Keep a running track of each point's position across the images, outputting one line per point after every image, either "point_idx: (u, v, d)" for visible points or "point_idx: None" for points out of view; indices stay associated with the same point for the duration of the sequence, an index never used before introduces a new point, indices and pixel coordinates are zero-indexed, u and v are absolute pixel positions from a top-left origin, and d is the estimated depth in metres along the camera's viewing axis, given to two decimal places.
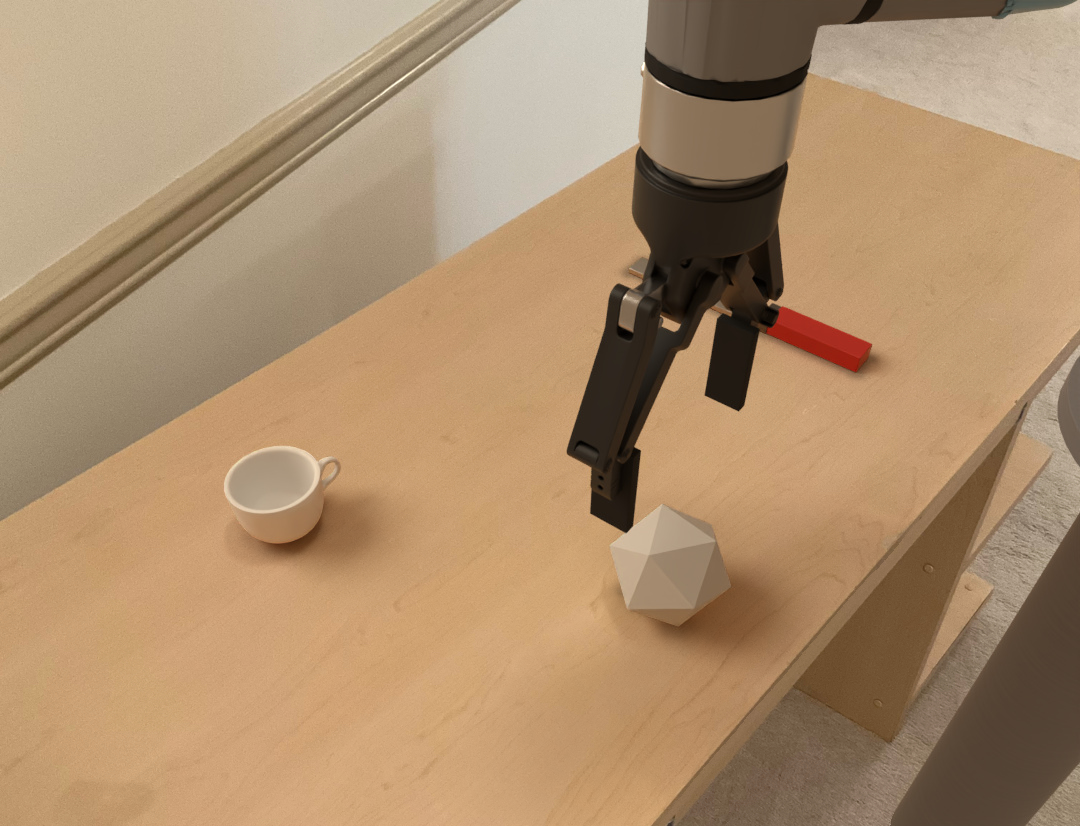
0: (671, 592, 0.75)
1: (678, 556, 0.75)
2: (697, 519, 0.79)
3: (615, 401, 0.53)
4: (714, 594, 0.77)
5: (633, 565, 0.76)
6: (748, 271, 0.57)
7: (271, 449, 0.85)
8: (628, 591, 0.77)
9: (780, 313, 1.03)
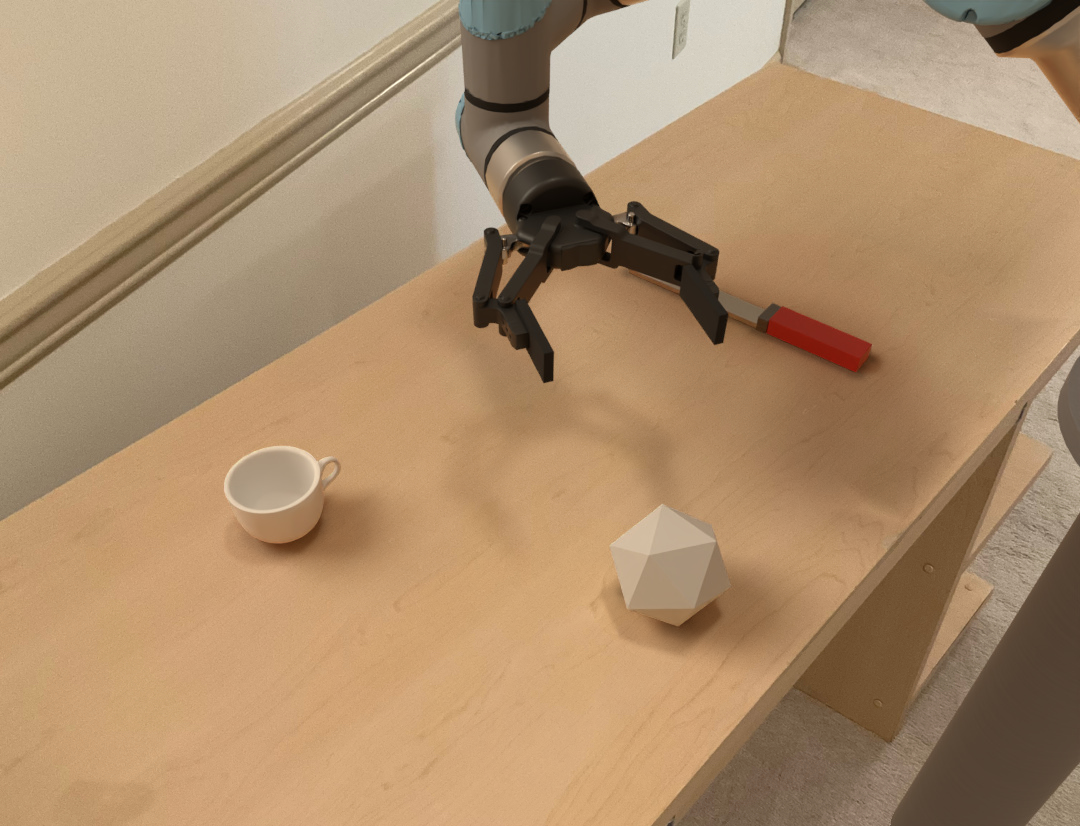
0: (671, 592, 0.75)
1: (678, 556, 0.75)
2: (697, 519, 0.79)
3: None
4: (714, 594, 0.77)
5: (633, 565, 0.76)
6: (609, 223, 0.81)
7: (271, 449, 0.85)
8: (628, 591, 0.77)
9: (780, 313, 1.03)
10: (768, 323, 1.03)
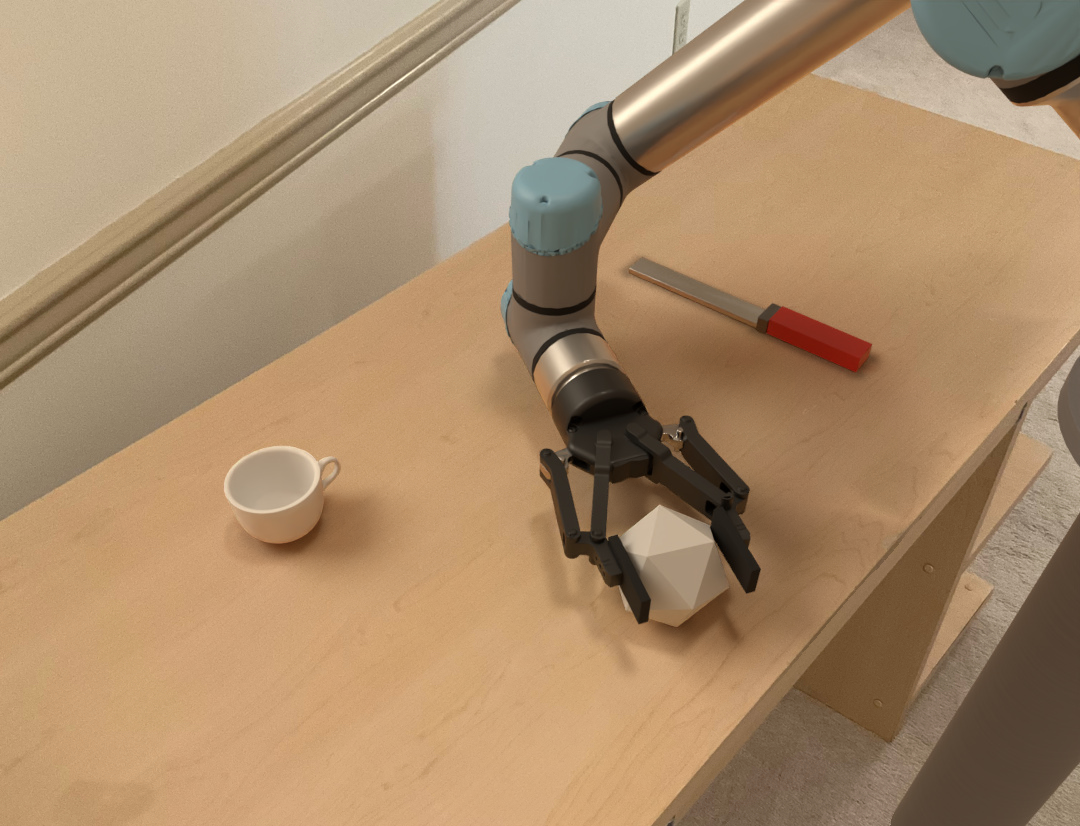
0: (670, 593, 0.75)
1: (676, 557, 0.75)
2: (694, 519, 0.79)
3: (557, 503, 0.79)
4: (713, 594, 0.77)
5: None
6: (656, 442, 0.82)
7: (271, 449, 0.85)
8: None
9: (780, 313, 1.03)
10: (768, 323, 1.03)
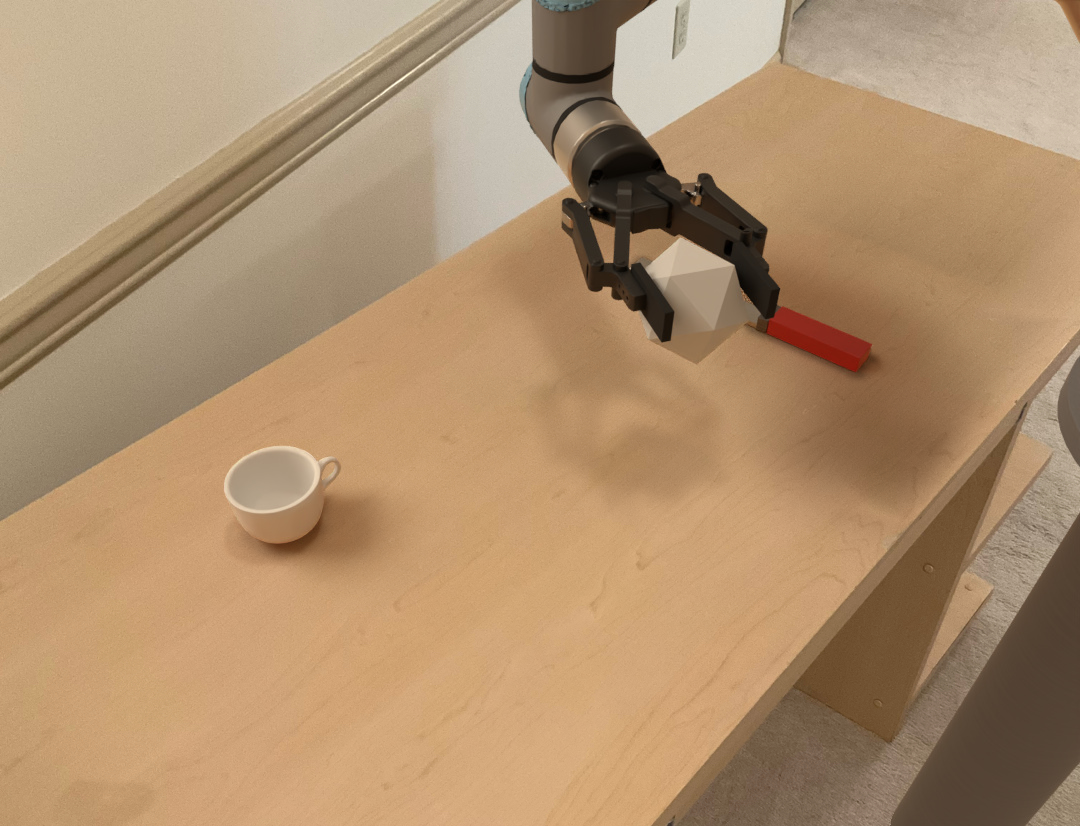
0: (691, 314, 0.77)
1: (697, 279, 0.77)
2: None
3: (580, 242, 0.81)
4: (732, 322, 0.79)
5: None
6: (675, 191, 0.84)
7: (271, 449, 0.85)
8: None
9: (780, 313, 1.03)
10: (768, 323, 1.03)
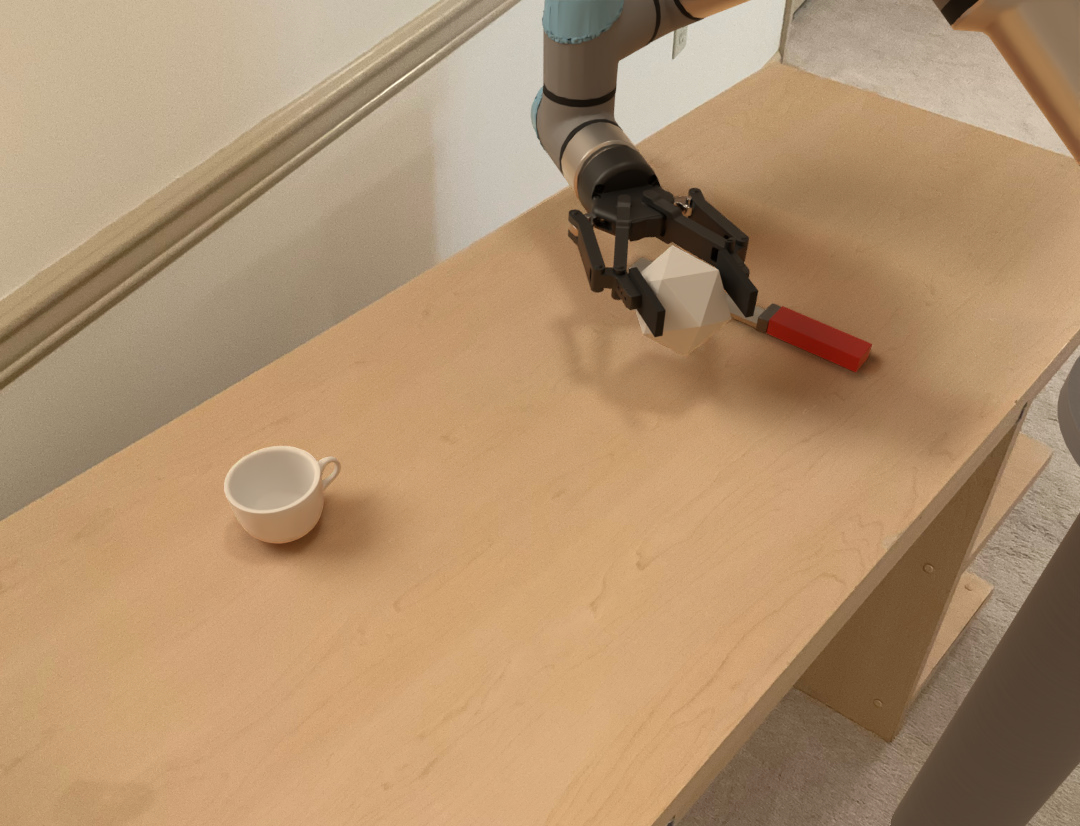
0: (681, 313, 0.89)
1: (686, 282, 0.88)
2: None
3: (584, 248, 0.93)
4: (717, 320, 0.90)
5: None
6: (668, 204, 0.96)
7: (271, 449, 0.85)
8: None
9: (780, 313, 1.03)
10: (768, 323, 1.03)
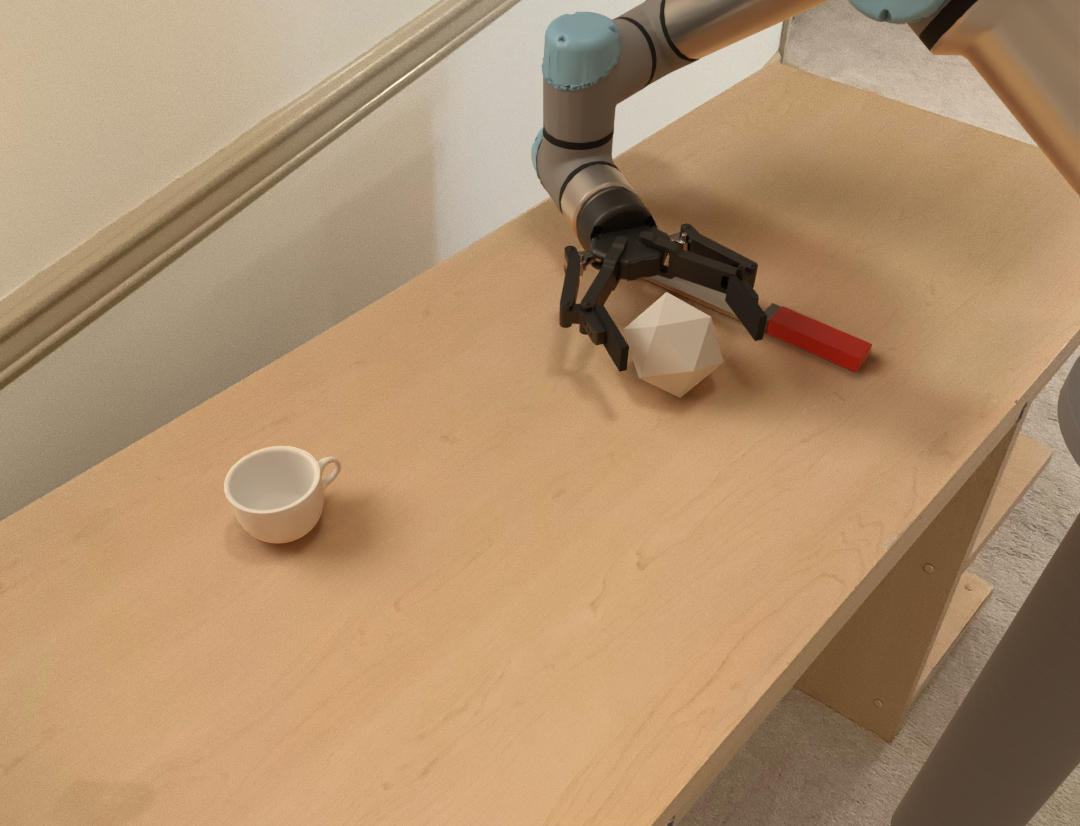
0: (675, 358, 0.92)
1: (680, 328, 0.92)
2: None
3: None
4: (710, 364, 0.94)
5: (643, 339, 0.93)
6: (667, 241, 1.00)
7: (271, 449, 0.85)
8: (639, 362, 0.94)
9: (780, 313, 1.03)
10: (768, 323, 1.03)
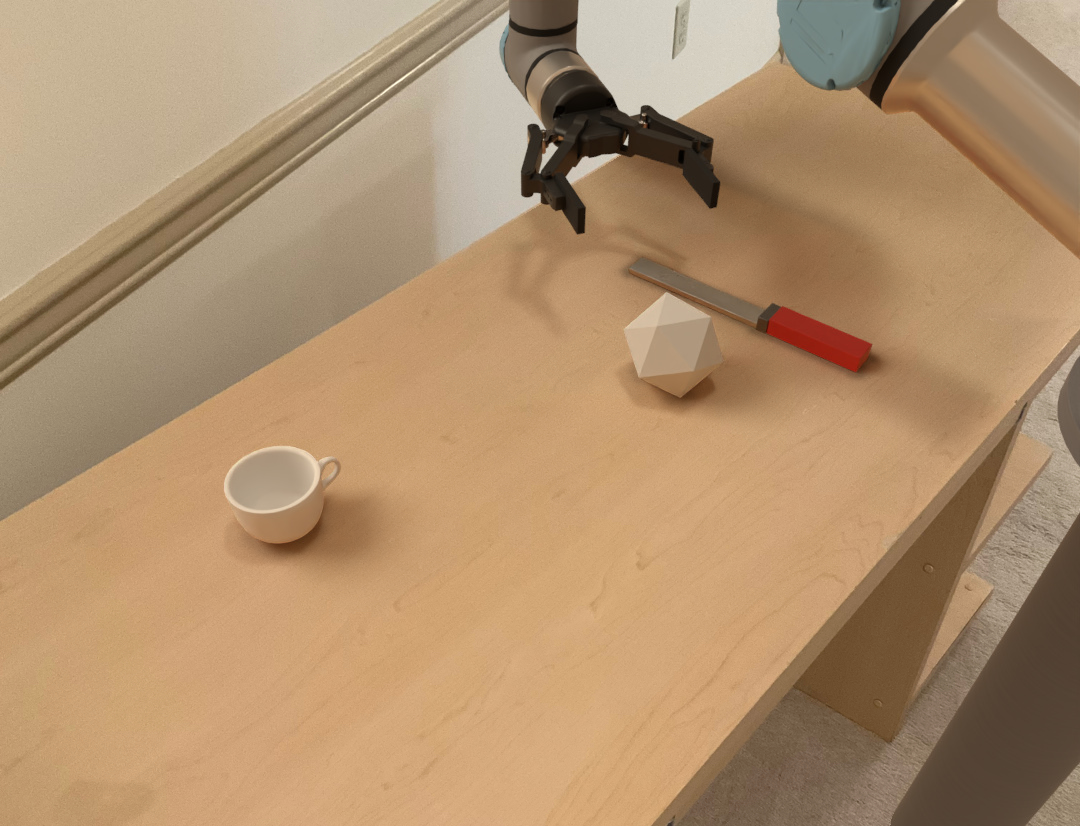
0: (675, 358, 0.92)
1: (680, 328, 0.92)
2: None
3: None
4: (710, 363, 0.94)
5: (643, 339, 0.93)
6: (627, 119, 1.03)
7: (271, 449, 0.85)
8: (639, 362, 0.94)
9: (780, 313, 1.03)
10: (768, 323, 1.03)
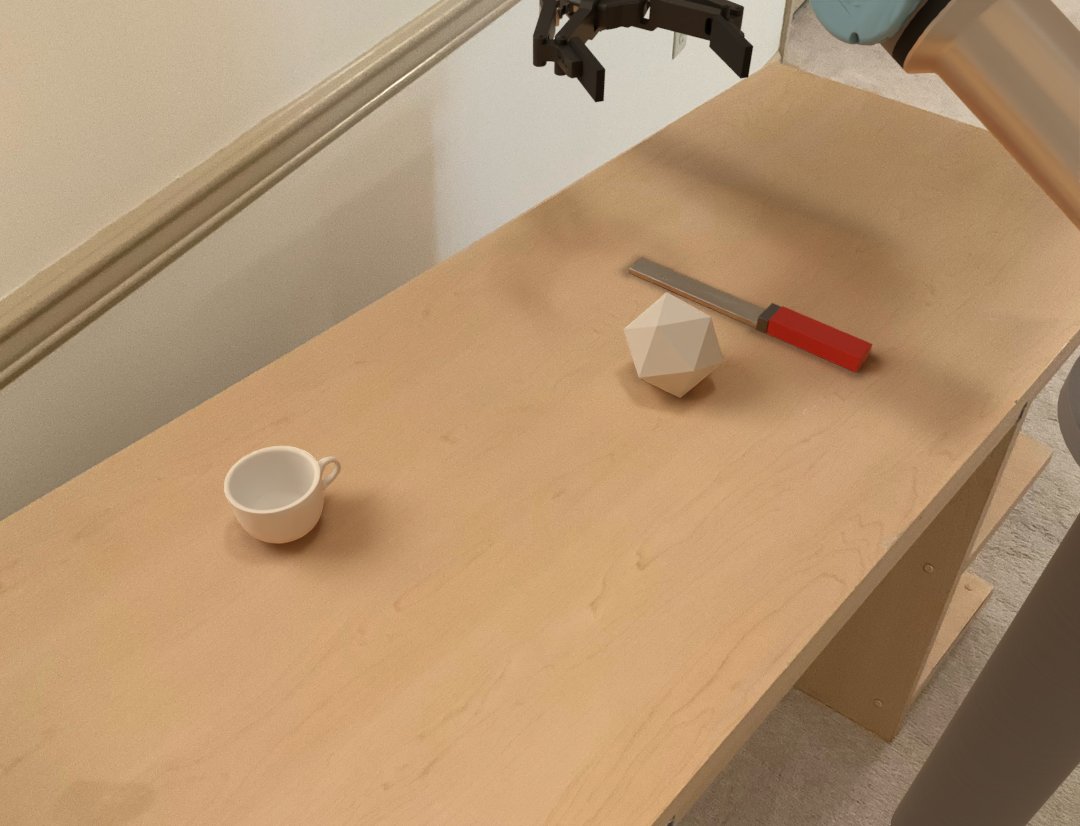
0: (675, 358, 0.92)
1: (680, 328, 0.92)
2: None
3: None
4: (710, 363, 0.94)
5: (643, 339, 0.93)
6: None
7: (271, 449, 0.85)
8: (639, 362, 0.94)
9: (780, 313, 1.03)
10: (768, 323, 1.03)
